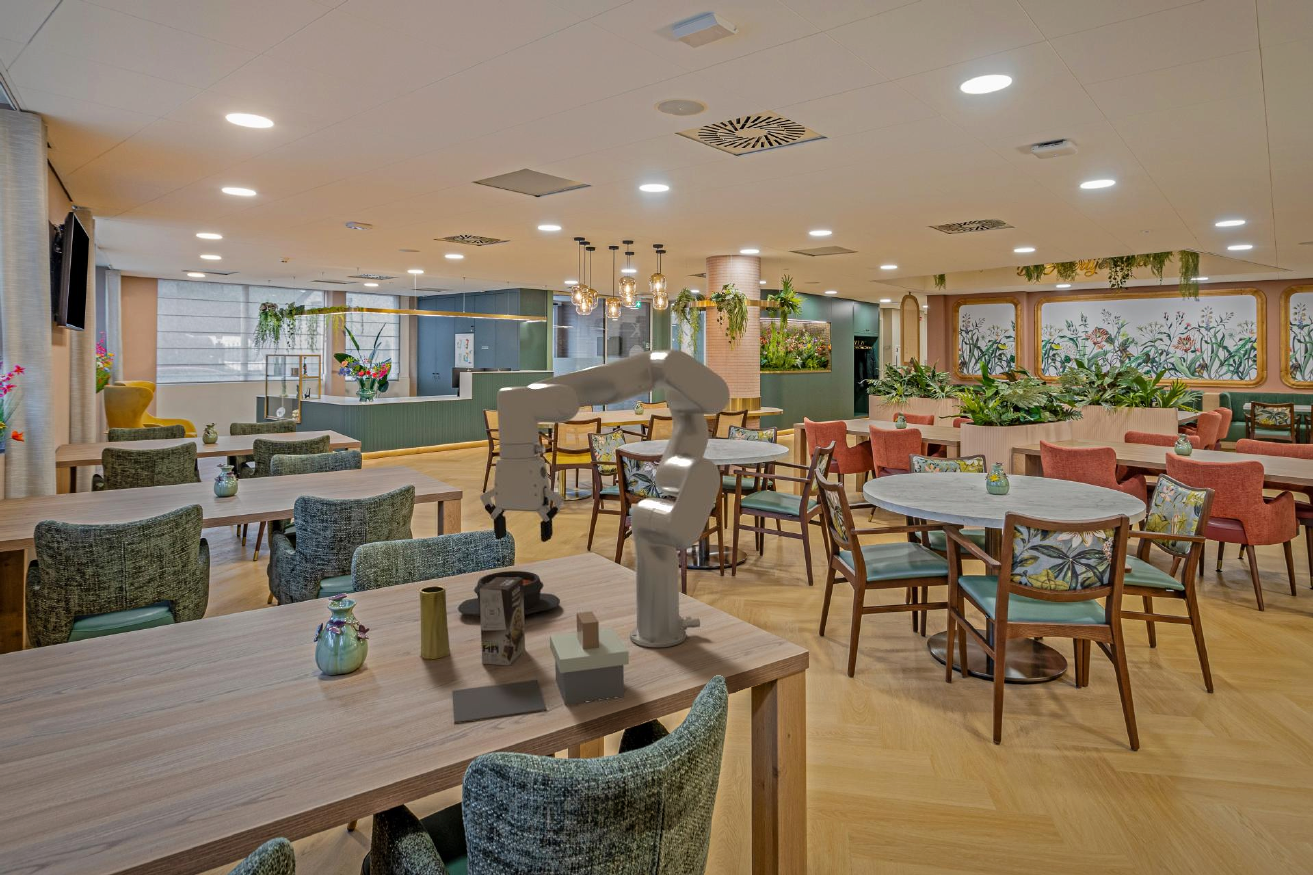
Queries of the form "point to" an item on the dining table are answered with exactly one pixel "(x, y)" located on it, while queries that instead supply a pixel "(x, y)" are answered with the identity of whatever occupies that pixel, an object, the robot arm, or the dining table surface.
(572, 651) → the lid
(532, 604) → the casserole
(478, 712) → the mat
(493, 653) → the coffee box
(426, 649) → the vase
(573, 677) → the storage box
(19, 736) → the dining table surface
